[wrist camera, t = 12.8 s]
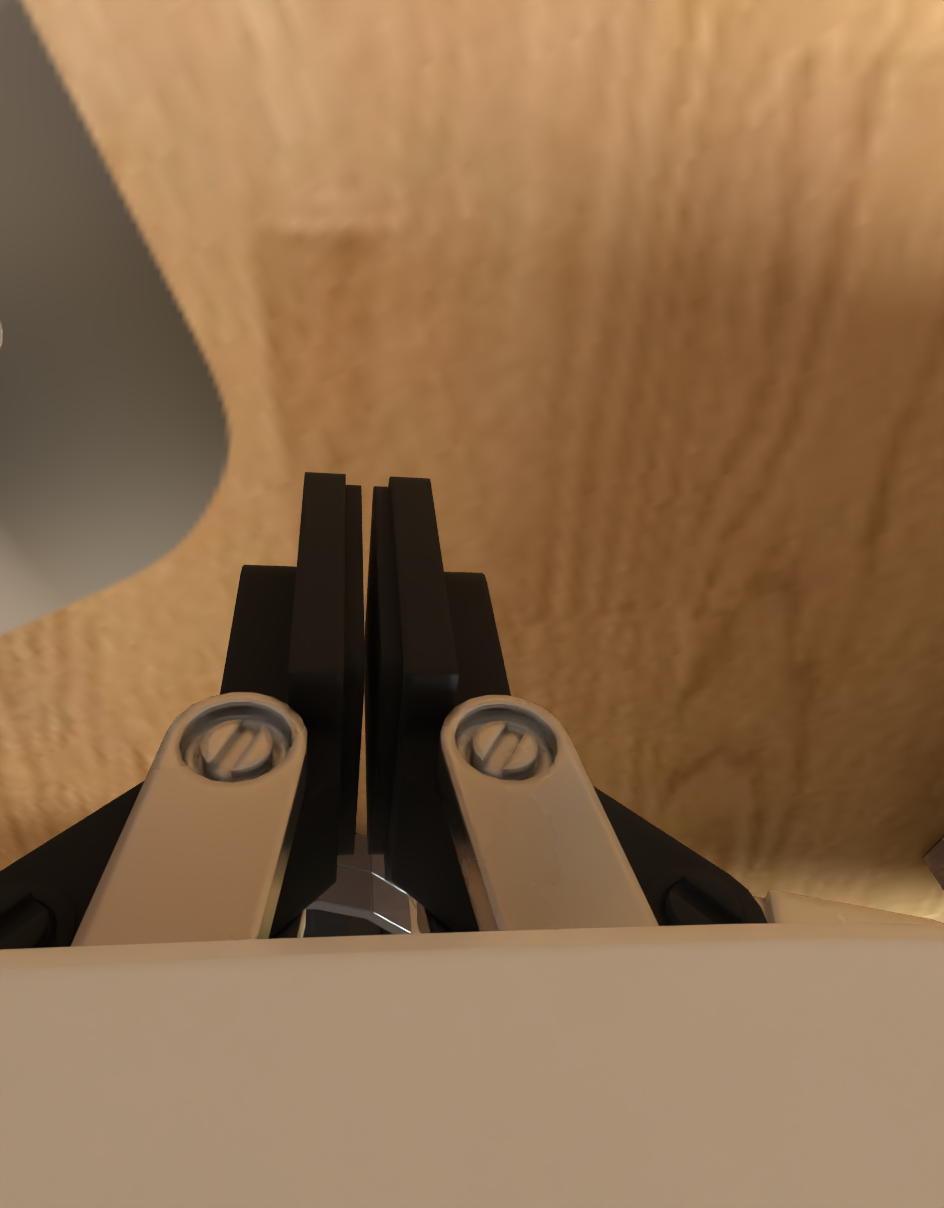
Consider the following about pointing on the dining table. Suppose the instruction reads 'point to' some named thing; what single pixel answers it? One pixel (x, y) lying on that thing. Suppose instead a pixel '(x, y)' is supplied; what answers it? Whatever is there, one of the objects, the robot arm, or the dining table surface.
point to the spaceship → (1, 335)
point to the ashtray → (361, 900)
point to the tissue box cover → (936, 861)
